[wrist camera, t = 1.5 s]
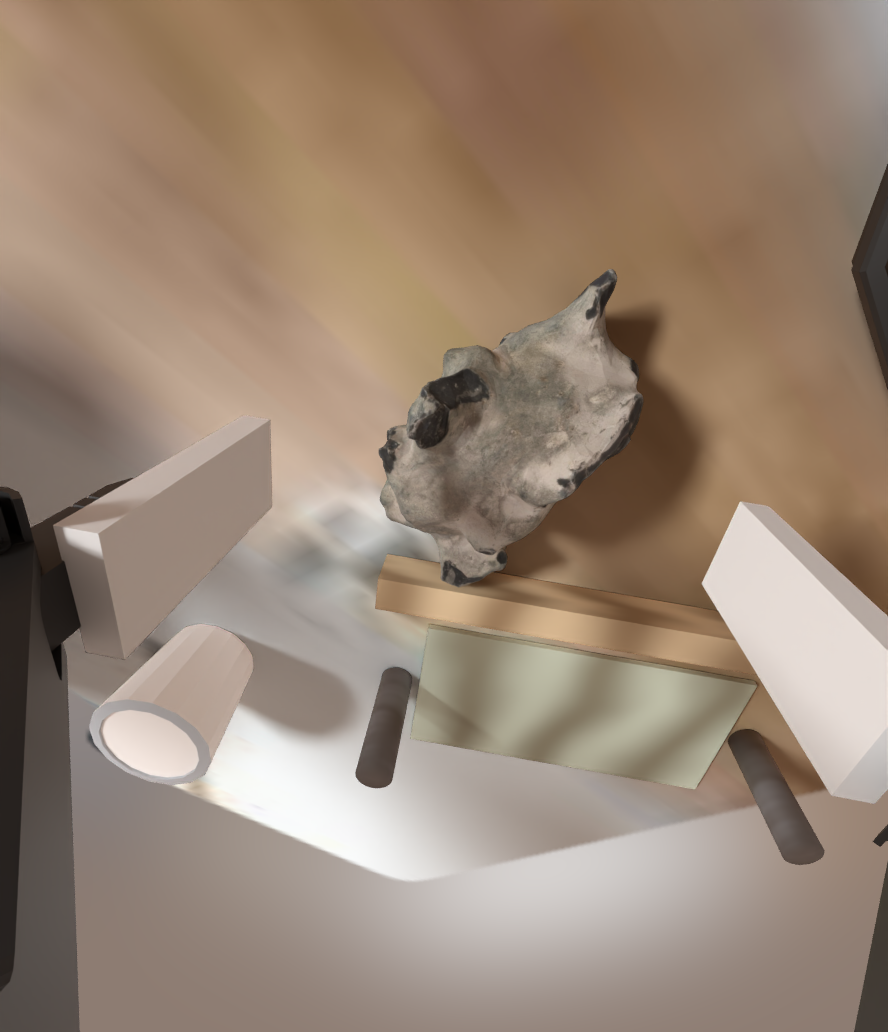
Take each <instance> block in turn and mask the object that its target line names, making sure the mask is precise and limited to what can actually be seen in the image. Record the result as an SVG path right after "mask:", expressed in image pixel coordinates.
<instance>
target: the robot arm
mask: <svg viewBox="0 0 888 1032" xmlns="http://www.w3.org/2000/svg"><path fill="white" fill-rule="evenodd" d="M271 507H272V475H271V429H270V419H264V418H259V417H253V416H247V415H243V416H241V417H239V418H238V419H236V420H234V421H232V422H231V423H229V424H227V425H225V426H224V427H222V428H220V429H219V430H217V431H215V432H213V433H212V434H210V435H208V436H206V437H205V438H203V439H201V440H200V441H198V442H196V443H194V444H193V445H191V446H189V447H187V448H186V449H184V450H182V451H181V452H179V453H177V454H175V455H174V456H172V457H170V458H168V459H167V460H165V461H163V462H161V463H160V464H158V465H156V466H155V467H153V468H151V469H149V470H148V471H146V472H144V473H142V474H141V475H139V476H137V477H136V478H131V479H127V480H124V481H121V482H117V483H114V484H110V485H107V486H105V487H104V488H102V489H100V490H98V491H97V492H95V493H93V494H91V495H89V498H84V499H82V500H80V501H79V502H77V503H75V504H74V505H73V507H68V508H66V509H64V510H62V511H61V512H59V513H57V514H55V515H53V516H52V517H50V518H48V519H46V520H44V521H43V522H41V523H39V524H37V525H35V526H34V527H32V528H30V525H29V521H28V518H27V514H26V511H25V507H24V503H23V500H22V497H21V495H20V494H19V492H17V491H15V490H12V489H10V488H5V487H0V1032H80V1030H79V1002H78V972H77V943H76V915H75V887H74V886H75V885H74V856H73V828H72V797H71V769H70V739H69V711H68V681H67V656H66V652H65V649H64V645H63V641H65V640H66V639H67V638H68V637H69V636H70V635H72V634H73V633H74V632H75V631H76V630H77V629H79V628H80V632H81V636H82V640H83V644H84V648H85V652H87V653H92V654H97V655H102V656H107V657H113V658H118V659H123V660H125V659H126V658H127V657H128V656H129V655H130V654H131V653H132V652H133V651H134V650H135V649H136V648H137V647H138V646H139V645H140V644H141V643H142V641H143V640H144V639H145V638H146V637H147V636H148V635H149V634H150V633H151V632H152V631H153V630H154V629H155V628H156V627H157V626H158V625H159V624H160V623H161V622H162V621H163V620H164V619H165V618H166V616H167V615H168V614H169V613H170V612H171V611H172V610H173V609H174V608H175V607H176V606H177V605H178V604H179V603H180V602H181V601H182V600H183V599H184V598H185V597H186V596H187V595H188V594H189V593H190V592H191V590H192V589H193V588H194V587H195V586H196V585H197V584H198V583H199V582H200V581H201V580H202V579H203V578H204V577H205V576H206V575H207V574H208V573H209V572H210V571H211V570H212V569H213V568H214V567H215V566H216V564H217V563H218V562H219V561H220V560H221V559H222V558H223V557H224V556H225V555H226V554H227V553H228V552H229V551H230V550H231V549H232V548H233V547H234V546H235V545H236V544H237V543H238V542H239V541H240V539H241V538H242V537H243V536H244V535H245V534H246V533H247V532H248V531H249V530H250V529H251V528H252V527H253V526H254V525H255V524H256V523H257V522H258V521H259V520H260V519H261V518H262V517H263V516H264V515H265V513H266V512H267V511H268V510H269V509H270V508H271ZM702 585H703V587H704V588H705V590H706V592H707V593H708V595H709V597H710V598H711V600H712V601H713V603H714V605H715V606H716V608H717V610H718V611H719V613H720V615H721V616H722V618H723V619H724V621H725V623H726V624H727V626H728V628H729V629H730V631H731V633H732V634H733V636H734V637H735V639H736V641H737V642H738V644H739V646H740V647H741V649H742V651H743V652H744V654H745V655H746V657H747V659H748V660H749V662H750V664H751V665H752V667H753V669H754V670H755V672H756V673H757V675H758V677H759V678H760V680H761V682H762V683H763V685H764V686H765V688H766V690H767V691H768V693H769V695H770V696H771V698H772V700H773V701H774V703H775V704H776V706H777V708H778V709H779V711H780V713H781V714H782V716H783V718H784V719H785V721H786V722H787V724H788V726H789V727H790V729H791V731H792V732H793V734H794V736H795V737H796V739H797V740H798V742H799V744H800V745H801V747H802V749H803V750H804V752H805V754H806V755H807V757H808V758H809V760H810V762H811V763H812V765H813V767H814V768H815V770H816V772H817V773H818V775H819V776H820V778H821V780H822V781H823V783H824V785H825V786H826V788H827V790H828V791H829V793H830V794H831V796H835V797H841V798H846V799H851V800H856V801H861V802H867V803H872V804H875V803H876V802H877V801H878V800H879V799H880V797H881V796H882V795H883V794H884V793H885V792H886V791H887V790H888V616H887V615H886V614H885V613H884V612H883V611H882V610H880V609H879V608H878V607H877V606H876V605H875V604H874V603H873V602H872V601H871V600H870V599H869V598H867V597H866V596H865V595H864V594H863V593H862V592H861V591H860V590H859V589H858V588H857V587H856V586H855V585H853V584H852V583H851V582H850V581H849V580H848V579H847V578H846V577H845V576H844V575H843V574H842V573H840V572H839V571H838V570H837V569H836V568H835V567H834V566H833V565H832V564H831V563H830V562H829V561H827V560H826V559H825V558H824V557H823V556H822V555H821V554H820V553H819V552H818V551H817V550H816V549H814V548H813V547H812V546H811V545H810V544H809V543H808V542H807V541H806V540H805V539H804V538H803V537H801V536H800V535H799V534H798V533H797V532H796V531H795V530H794V529H793V528H792V527H791V526H790V525H788V524H787V523H786V522H785V521H784V520H783V519H782V518H781V517H780V516H779V515H778V514H777V513H775V512H774V511H773V510H772V509H771V508H770V507H769V506H764V505H759V504H753V503H747V502H741V501H740V503H739V505H738V507H737V509H736V512H735V514H734V516H733V518H732V520H731V522H730V524H729V527H728V529H727V531H726V533H725V535H724V537H723V539H722V542H721V544H720V546H719V548H718V550H717V552H716V554H715V556H714V559H713V561H712V563H711V565H710V567H709V569H708V571H707V574H706V576H705V578H704V580H703V582H702ZM885 841H888V825H887V826H886V827H885V828H884V829H883V830H882V831H881V832H880V834H878V836H877V837H876V838H875V840H874V841H873V842H874V843H876V844H877V845H878V846H882V844H883V843H884V842H885ZM854 1032H888V863H887V869H886V874H885V878H884V884H883V889H882V894H881V899H880V904H879V909H878V914H877V919H876V924H875V929H874V934H873V940H872V945H871V949H870V954H869V960H868V965H867V970H866V975H865V980H864V985H863V990H862V995H861V1000H860V1005H859V1010H858V1015H857V1020H856V1025H855V1030H854Z"/></svg>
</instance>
